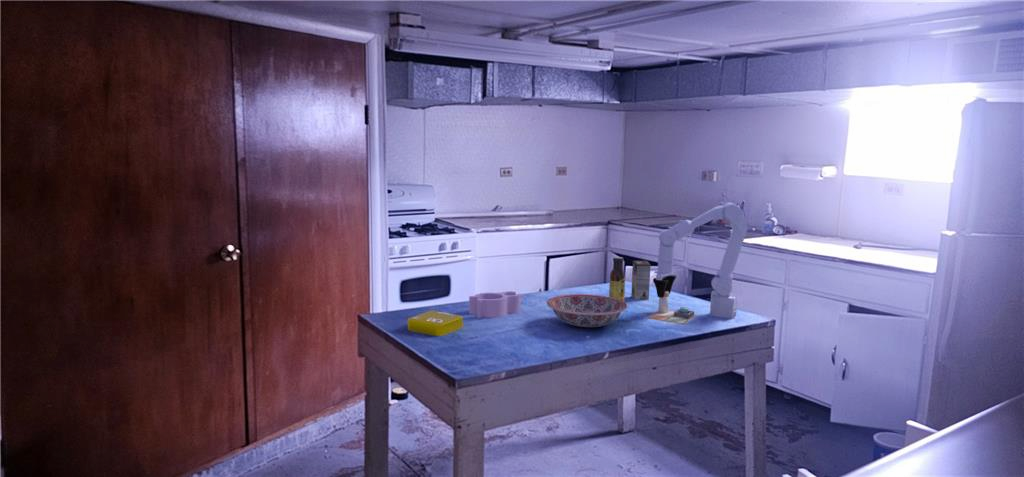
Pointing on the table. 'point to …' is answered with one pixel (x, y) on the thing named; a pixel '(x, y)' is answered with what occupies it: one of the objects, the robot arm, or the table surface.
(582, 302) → the ceramic bowl
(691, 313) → the button housing
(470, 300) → the pink lobed tray
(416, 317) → the element tile
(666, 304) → the cylinder
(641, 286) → the coffee box
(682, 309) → the button
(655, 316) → the beige flat square board
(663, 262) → the robot arm
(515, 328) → the table surface
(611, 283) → the sauce bottle
